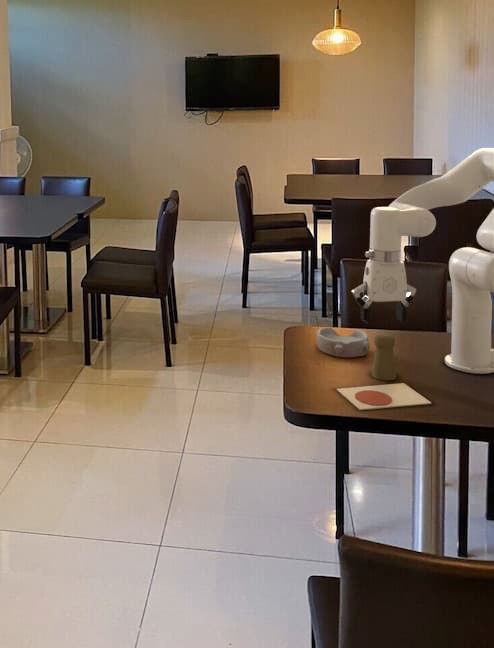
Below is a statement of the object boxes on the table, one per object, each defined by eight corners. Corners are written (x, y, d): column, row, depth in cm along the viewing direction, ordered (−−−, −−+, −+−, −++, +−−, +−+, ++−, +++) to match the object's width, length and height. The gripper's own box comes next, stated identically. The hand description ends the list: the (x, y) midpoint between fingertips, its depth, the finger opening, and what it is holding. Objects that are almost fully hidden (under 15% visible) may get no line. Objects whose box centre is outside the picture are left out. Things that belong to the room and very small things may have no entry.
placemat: (403, 384, 184) (403, 382, 184) (431, 403, 172) (431, 401, 172) (336, 389, 181) (336, 387, 181) (360, 410, 169) (360, 408, 169)
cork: (398, 381, 186) (398, 338, 185) (373, 379, 187) (373, 337, 186) (394, 372, 192) (394, 331, 191) (370, 370, 193) (370, 329, 192)
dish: (312, 342, 215) (312, 325, 215) (360, 342, 215) (360, 325, 215) (324, 360, 201) (324, 342, 201) (375, 360, 200) (375, 342, 200)
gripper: (360, 260, 182) (358, 327, 183) (424, 257, 185) (422, 324, 186) (346, 253, 190) (344, 318, 191) (408, 251, 192) (406, 315, 193)
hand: (383, 321), depth 188 cm, fingers open, 9 cm apart
